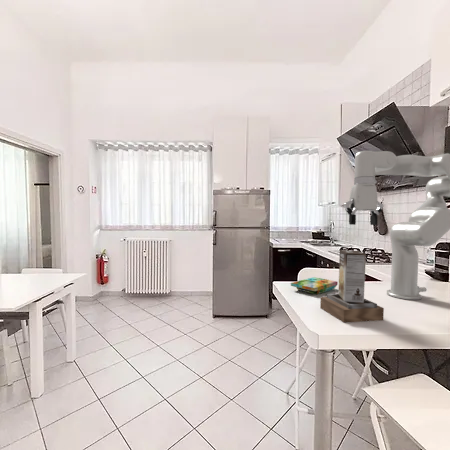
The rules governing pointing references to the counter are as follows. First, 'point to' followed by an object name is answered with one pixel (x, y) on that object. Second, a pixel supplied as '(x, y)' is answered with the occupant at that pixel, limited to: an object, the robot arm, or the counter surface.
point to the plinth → (351, 309)
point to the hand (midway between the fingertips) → (363, 224)
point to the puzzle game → (315, 285)
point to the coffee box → (352, 276)
